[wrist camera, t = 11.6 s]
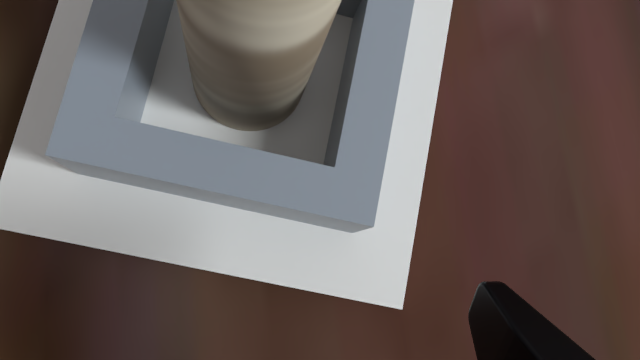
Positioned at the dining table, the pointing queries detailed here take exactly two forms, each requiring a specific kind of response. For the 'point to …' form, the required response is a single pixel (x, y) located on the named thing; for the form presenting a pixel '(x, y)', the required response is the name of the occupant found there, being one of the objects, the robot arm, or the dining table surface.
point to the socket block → (232, 150)
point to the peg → (253, 55)
